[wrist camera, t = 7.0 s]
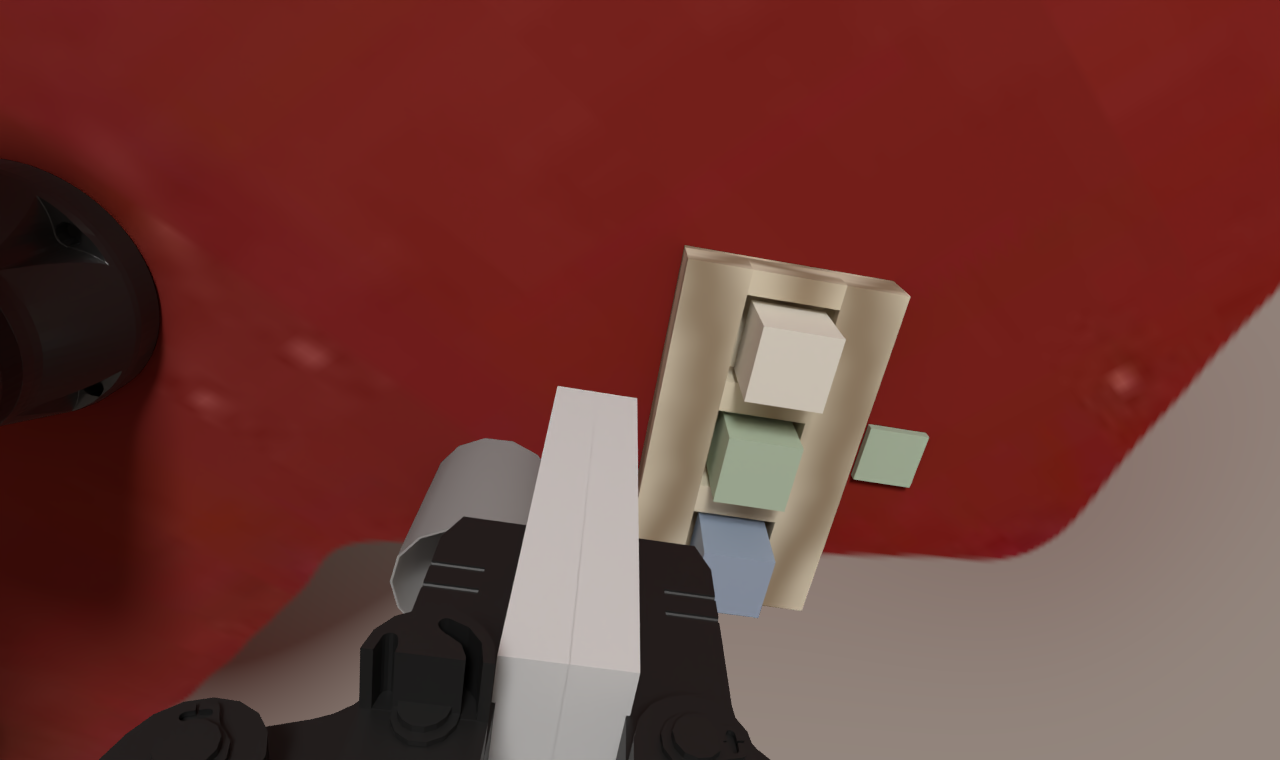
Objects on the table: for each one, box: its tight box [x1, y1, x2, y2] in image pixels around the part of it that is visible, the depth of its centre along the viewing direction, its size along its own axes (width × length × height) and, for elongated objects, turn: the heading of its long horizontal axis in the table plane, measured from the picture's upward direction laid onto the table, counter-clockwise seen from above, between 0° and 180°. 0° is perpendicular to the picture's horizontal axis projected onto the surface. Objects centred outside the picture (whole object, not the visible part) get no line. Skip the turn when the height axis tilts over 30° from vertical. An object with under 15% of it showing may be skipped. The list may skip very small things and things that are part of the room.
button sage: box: [706, 410, 804, 512], centre depth 45 cm, size 4×4×4 cm
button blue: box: [690, 512, 776, 618], centre depth 47 cm, size 4×4×4 cm
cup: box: [390, 438, 541, 614], centre depth 46 cm, size 8×8×10 cm
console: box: [638, 245, 911, 611], centre depth 47 cm, size 13×24×3 cm, turn 170°
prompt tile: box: [851, 424, 929, 488], centre depth 49 cm, size 4×4×1 cm
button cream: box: [734, 300, 846, 414], centre depth 41 cm, size 4×4×4 cm
